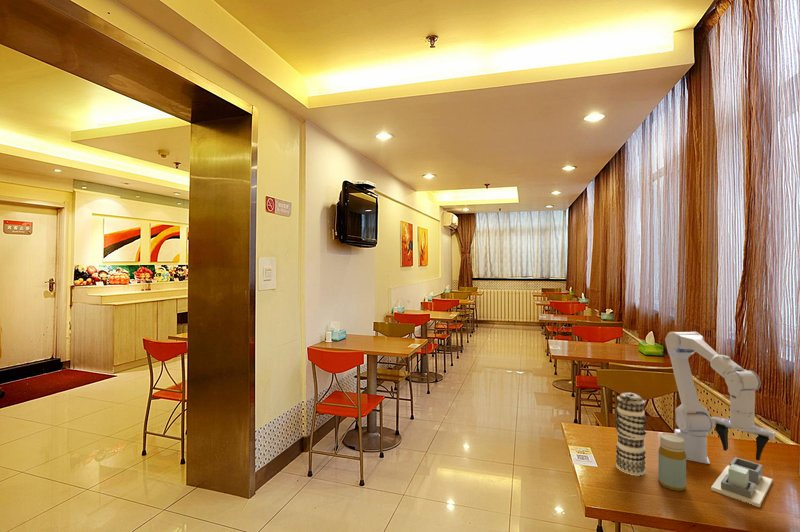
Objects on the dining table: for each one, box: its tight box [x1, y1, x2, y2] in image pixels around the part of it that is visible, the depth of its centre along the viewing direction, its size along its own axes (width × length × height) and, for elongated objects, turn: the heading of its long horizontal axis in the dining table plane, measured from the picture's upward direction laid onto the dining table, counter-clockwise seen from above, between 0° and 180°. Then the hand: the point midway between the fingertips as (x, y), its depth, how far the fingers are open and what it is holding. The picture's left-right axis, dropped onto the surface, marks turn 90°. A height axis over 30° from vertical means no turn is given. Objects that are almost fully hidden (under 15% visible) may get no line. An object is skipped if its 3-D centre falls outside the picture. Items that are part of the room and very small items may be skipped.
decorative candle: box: [614, 392, 648, 477], centre depth 132 cm, size 9×9×25 cm
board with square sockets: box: [710, 456, 773, 508], centre depth 122 cm, size 20×11×5 cm, turn 129°
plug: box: [728, 465, 749, 490], centre depth 119 cm, size 5×4×6 cm
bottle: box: [657, 432, 687, 492], centre depth 122 cm, size 7×7×15 cm
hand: (741, 454), depth 121 cm, fingers open, 7 cm apart
